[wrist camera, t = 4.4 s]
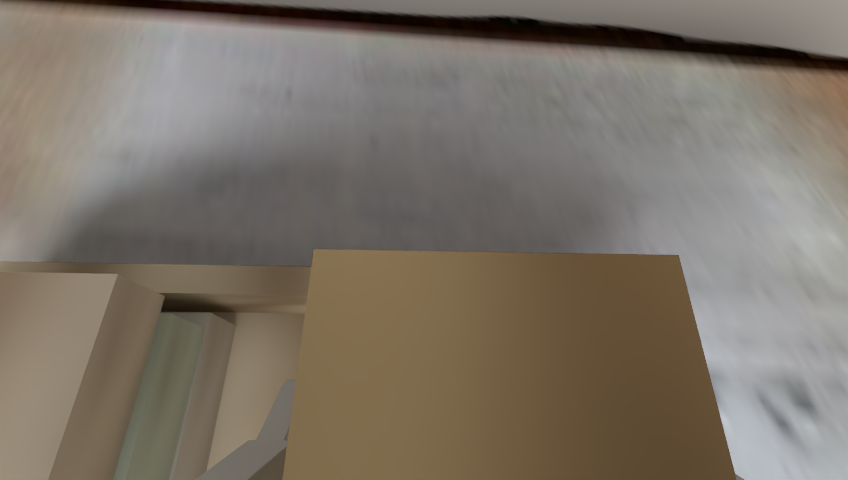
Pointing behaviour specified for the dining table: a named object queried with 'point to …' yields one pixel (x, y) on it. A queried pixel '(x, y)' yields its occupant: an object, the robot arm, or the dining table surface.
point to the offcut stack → (105, 380)
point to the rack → (238, 304)
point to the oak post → (501, 370)
